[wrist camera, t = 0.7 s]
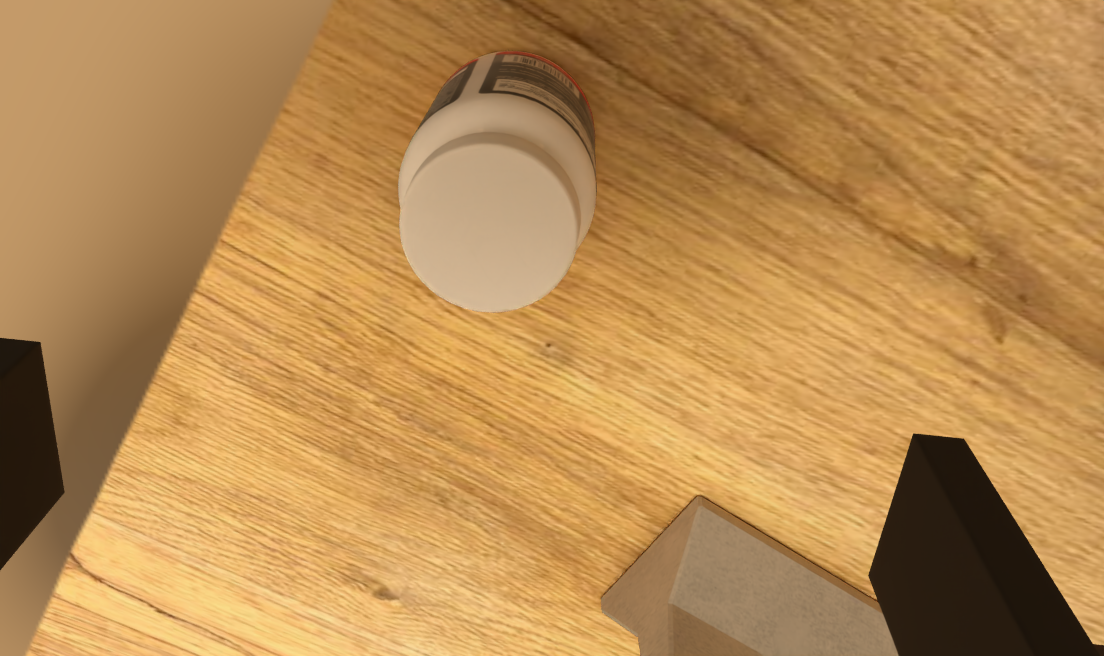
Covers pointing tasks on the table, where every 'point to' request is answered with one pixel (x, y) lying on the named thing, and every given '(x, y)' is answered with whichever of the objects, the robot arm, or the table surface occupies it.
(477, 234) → the pill bottle
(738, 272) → the table surface
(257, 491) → the table surface
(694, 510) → the barrier
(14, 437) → the robot arm
